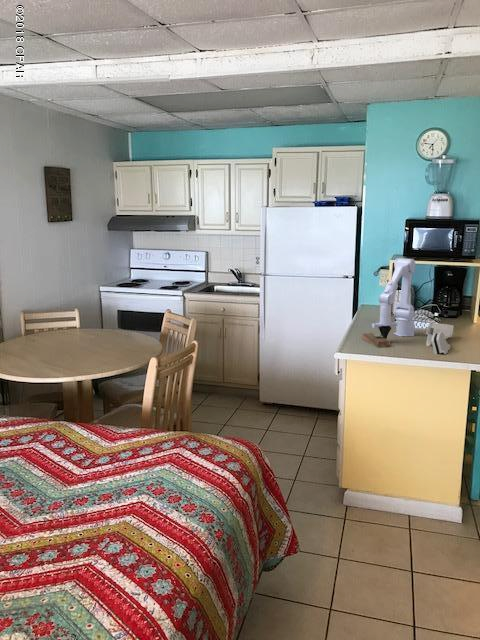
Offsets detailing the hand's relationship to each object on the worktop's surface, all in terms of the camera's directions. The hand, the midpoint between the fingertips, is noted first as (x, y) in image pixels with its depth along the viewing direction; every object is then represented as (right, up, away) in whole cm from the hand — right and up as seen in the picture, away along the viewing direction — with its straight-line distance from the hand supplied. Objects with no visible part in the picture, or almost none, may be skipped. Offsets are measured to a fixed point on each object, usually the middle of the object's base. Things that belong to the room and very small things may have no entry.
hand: (384, 339), depth 286 cm
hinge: (+24, -5, -16) cm, 29 cm away
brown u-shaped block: (-5, -2, -1) cm, 5 cm away
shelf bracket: (+30, -1, +2) cm, 30 cm away
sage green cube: (-4, -1, 0) cm, 4 cm away
